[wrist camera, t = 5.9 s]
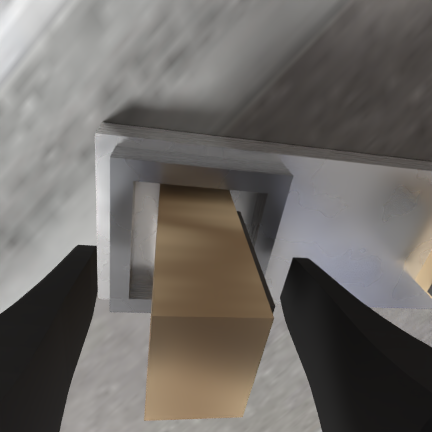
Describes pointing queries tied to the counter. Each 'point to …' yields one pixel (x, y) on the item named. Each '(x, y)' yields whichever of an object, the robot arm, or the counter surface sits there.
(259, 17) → the counter surface
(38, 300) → the robot arm
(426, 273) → the fixed finger
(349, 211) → the rail
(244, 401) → the block
